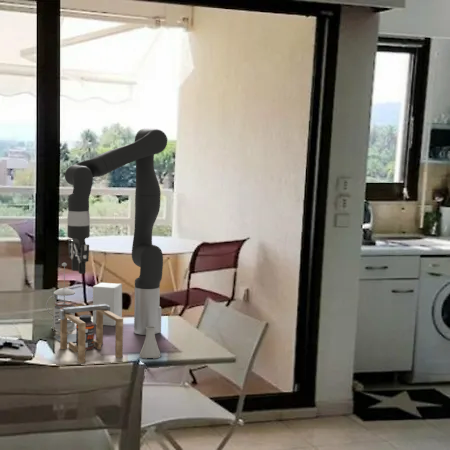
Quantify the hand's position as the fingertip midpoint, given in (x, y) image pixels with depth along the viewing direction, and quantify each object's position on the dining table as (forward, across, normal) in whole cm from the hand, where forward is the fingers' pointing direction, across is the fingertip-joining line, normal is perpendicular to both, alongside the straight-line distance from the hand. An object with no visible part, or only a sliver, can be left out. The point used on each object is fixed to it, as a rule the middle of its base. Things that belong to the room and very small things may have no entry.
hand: (78, 271), depth 266 cm
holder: (+26, -12, 0) cm, 28 cm away
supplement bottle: (+26, -6, 0) cm, 27 cm away
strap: (+14, -6, 0) cm, 16 cm away
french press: (+26, +22, -2) cm, 34 cm away
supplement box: (+26, +23, -20) cm, 40 cm away
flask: (+26, -24, -16) cm, 39 cm away
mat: (+26, +6, 0) cm, 26 cm away
